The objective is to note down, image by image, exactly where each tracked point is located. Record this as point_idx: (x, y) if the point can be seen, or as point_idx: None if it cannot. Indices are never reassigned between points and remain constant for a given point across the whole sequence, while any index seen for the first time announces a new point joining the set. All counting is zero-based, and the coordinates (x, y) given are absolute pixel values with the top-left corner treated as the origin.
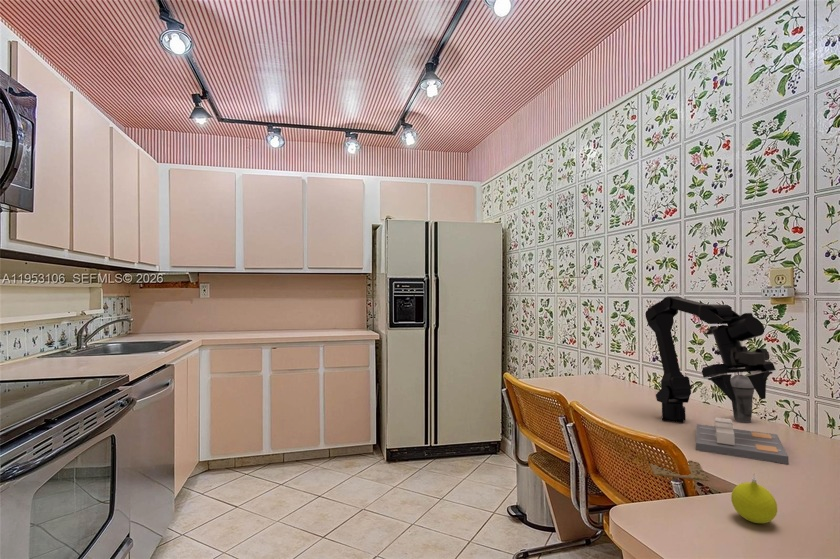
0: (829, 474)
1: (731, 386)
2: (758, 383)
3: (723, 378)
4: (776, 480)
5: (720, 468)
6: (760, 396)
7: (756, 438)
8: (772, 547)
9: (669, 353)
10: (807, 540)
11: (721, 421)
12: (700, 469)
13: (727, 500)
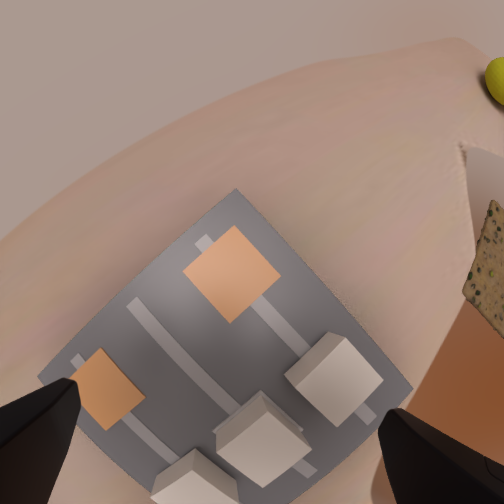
0: (200, 114)
1: (476, 476)
2: (2, 500)
3: None
4: (377, 139)
5: (443, 243)
6: (72, 421)
7: (149, 378)
8: None
9: None
10: (464, 49)
11: (221, 492)
12: (484, 247)
13: (499, 138)
